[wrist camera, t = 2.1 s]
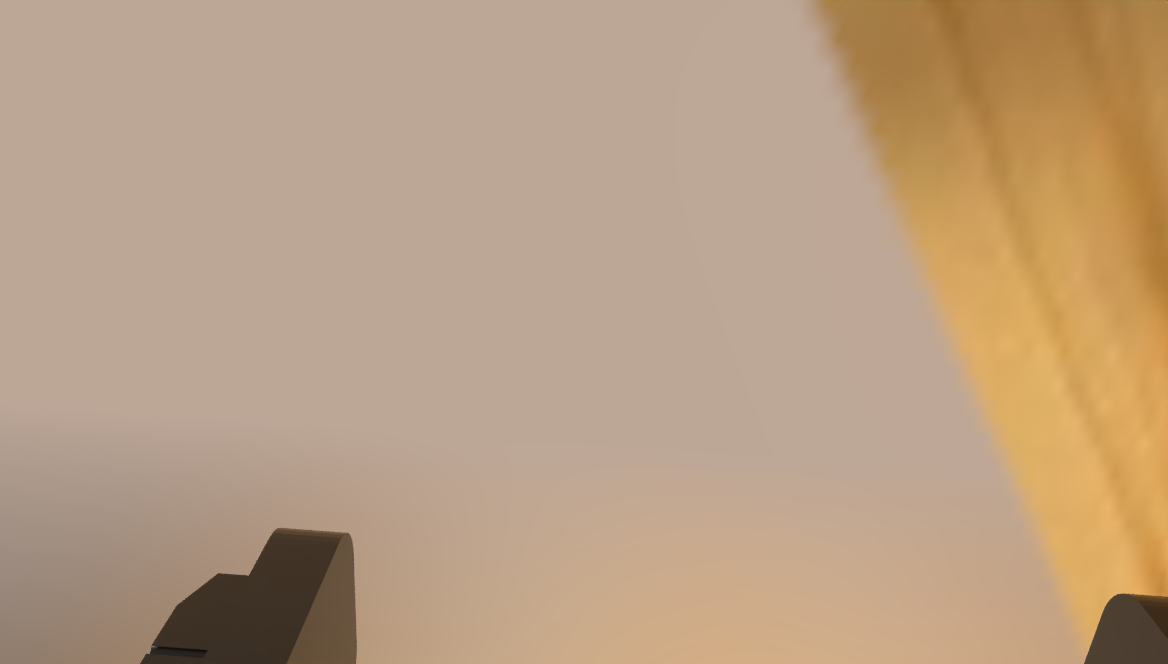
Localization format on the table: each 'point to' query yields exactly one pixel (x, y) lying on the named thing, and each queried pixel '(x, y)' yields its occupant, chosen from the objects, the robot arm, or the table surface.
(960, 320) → the table surface
